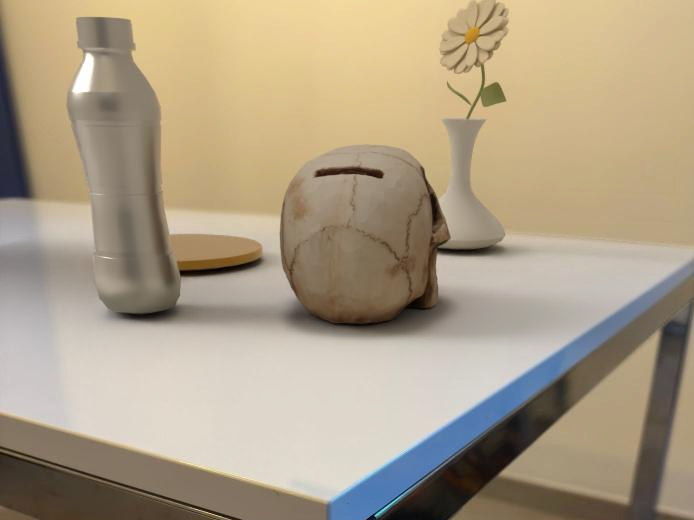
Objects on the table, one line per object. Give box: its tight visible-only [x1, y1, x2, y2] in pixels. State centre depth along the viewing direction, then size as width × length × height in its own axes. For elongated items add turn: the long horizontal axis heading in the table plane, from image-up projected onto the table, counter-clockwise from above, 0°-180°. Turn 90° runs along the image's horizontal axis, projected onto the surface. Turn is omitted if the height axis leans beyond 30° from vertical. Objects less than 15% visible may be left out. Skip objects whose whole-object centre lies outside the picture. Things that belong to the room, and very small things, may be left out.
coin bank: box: [279, 143, 451, 325], centre depth 63 cm, size 16×17×13 cm
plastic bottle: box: [65, 16, 182, 315], centre depth 58 cm, size 6×7×20 cm
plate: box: [169, 233, 264, 273], centre depth 82 cm, size 17×17×2 cm
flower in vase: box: [438, 0, 510, 250], centre depth 87 cm, size 13×11×25 cm
